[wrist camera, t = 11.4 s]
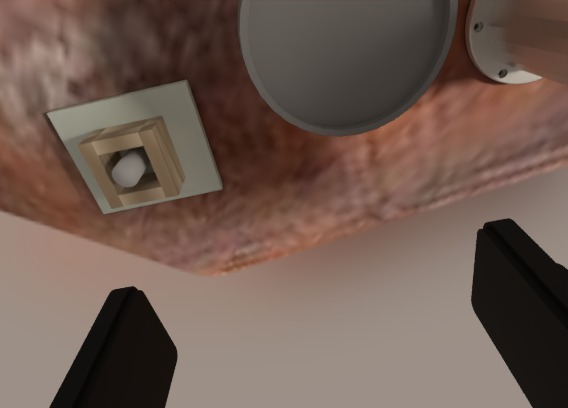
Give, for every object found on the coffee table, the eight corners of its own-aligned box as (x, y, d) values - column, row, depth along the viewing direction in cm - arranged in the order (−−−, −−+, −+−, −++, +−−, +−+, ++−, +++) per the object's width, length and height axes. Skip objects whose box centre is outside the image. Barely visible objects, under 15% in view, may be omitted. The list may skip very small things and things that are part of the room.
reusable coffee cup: (411, -9, 32) (512, -5, 19) (327, 109, 37) (362, 173, 24) (296, -112, 28) (326, -194, 15) (219, 36, 33) (193, 68, 20)
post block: (187, 79, 35) (174, 95, 30) (223, 185, 41) (217, 213, 36) (51, 110, 36) (16, 131, 31) (106, 209, 42) (85, 240, 37)
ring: (162, 115, 36) (151, 129, 32) (185, 177, 39) (178, 195, 36) (94, 130, 36) (77, 145, 32) (124, 189, 40) (111, 208, 36)
